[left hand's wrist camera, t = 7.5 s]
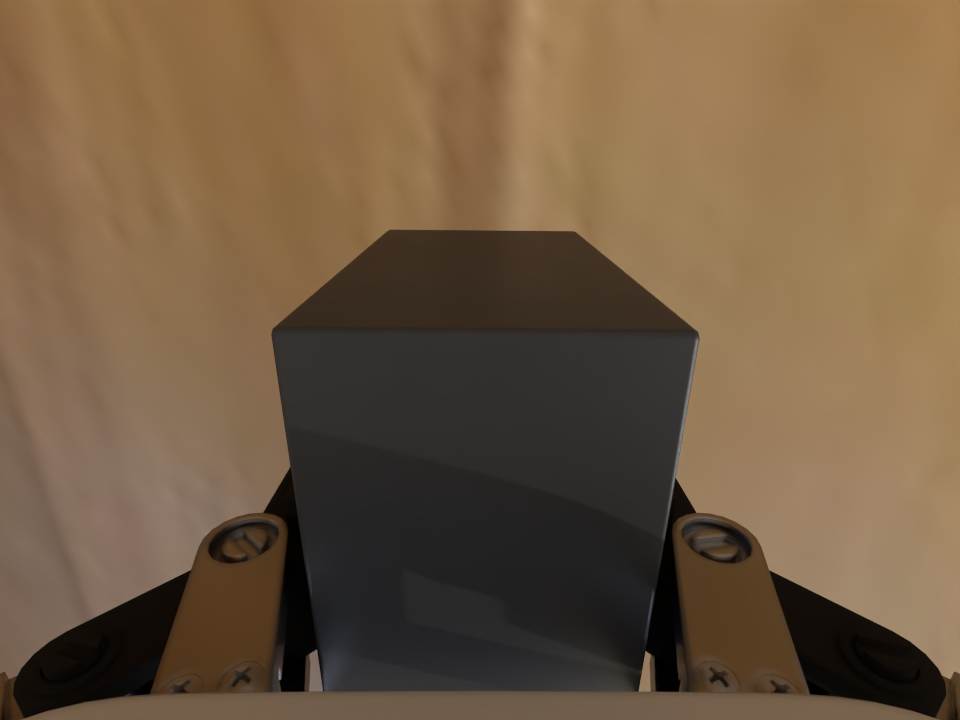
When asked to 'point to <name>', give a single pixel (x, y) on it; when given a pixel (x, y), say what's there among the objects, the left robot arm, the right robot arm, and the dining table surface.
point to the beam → (483, 461)
